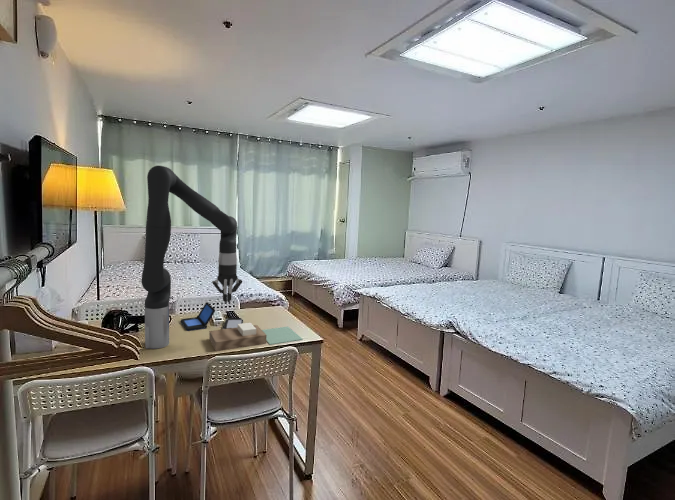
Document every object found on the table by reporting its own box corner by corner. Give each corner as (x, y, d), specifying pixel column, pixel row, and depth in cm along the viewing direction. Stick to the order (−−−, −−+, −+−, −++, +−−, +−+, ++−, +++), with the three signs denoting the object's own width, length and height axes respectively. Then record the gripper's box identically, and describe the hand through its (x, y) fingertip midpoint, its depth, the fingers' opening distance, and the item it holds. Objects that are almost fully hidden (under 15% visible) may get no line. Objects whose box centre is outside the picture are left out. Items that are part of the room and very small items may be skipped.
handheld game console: (180, 321, 187) (180, 304, 185) (206, 318, 194) (207, 301, 193) (187, 332, 174) (187, 313, 173) (215, 327, 182) (215, 309, 180)
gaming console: (226, 321, 192) (226, 316, 191) (243, 321, 194) (243, 316, 193) (222, 335, 173) (222, 330, 173) (241, 334, 175) (241, 329, 174)
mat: (269, 344, 164) (269, 344, 164) (257, 331, 179) (257, 330, 179) (302, 339, 172) (302, 338, 172) (288, 327, 187) (288, 326, 187)
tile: (242, 336, 162) (242, 330, 161) (237, 329, 169) (237, 323, 169) (256, 334, 165) (256, 328, 164) (250, 327, 172) (250, 322, 172)
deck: (215, 351, 154) (216, 342, 153) (209, 339, 166) (209, 330, 165) (266, 343, 165) (266, 335, 164) (256, 332, 177) (256, 324, 176)
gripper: (213, 265, 151) (212, 305, 154) (245, 263, 158) (244, 302, 161) (209, 261, 158) (209, 300, 160) (240, 260, 165) (240, 298, 167)
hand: (227, 301), depth 160 cm, fingers closed
